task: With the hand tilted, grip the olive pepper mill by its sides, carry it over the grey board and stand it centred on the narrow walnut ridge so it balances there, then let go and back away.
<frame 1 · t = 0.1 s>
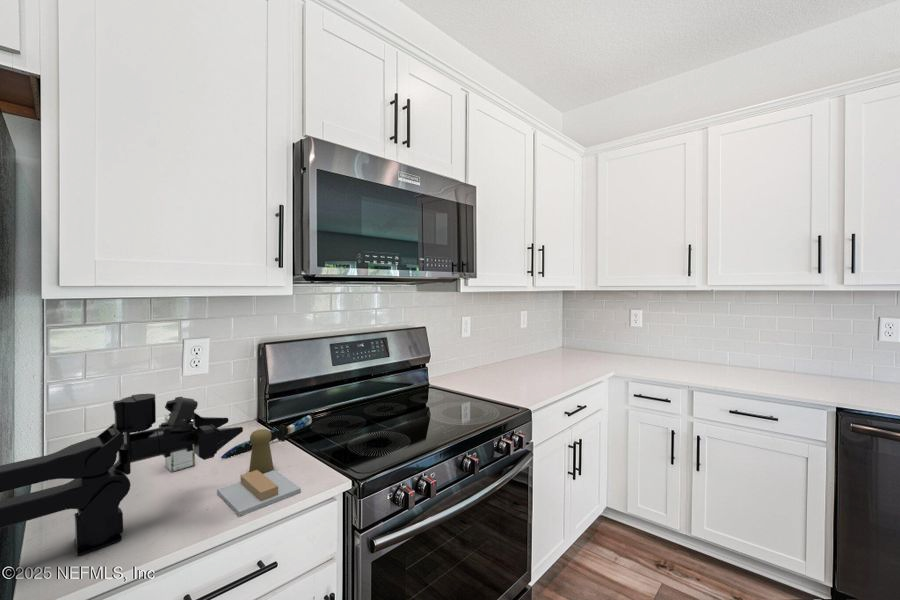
hand: (235, 424, 97), 17 cm above the worktop, tool horizontal, fingers open, 9 cm apart
knife: (271, 443, 128), on the worktop
olive pepper mill: (261, 471, 109), on the worktop
ridge board: (259, 492, 98), on the worktop
syrup box: (180, 466, 112), on the worktop
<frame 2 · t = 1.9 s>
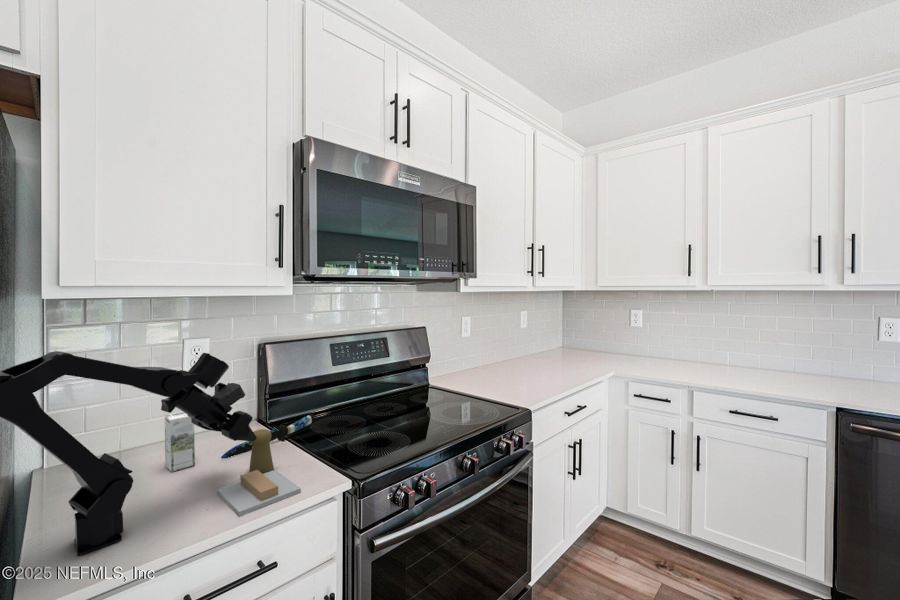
hand: (245, 435, 105), 11 cm above the worktop, tool tilted 45°, fingers open, 9 cm apart
nothing on the worktop moved.
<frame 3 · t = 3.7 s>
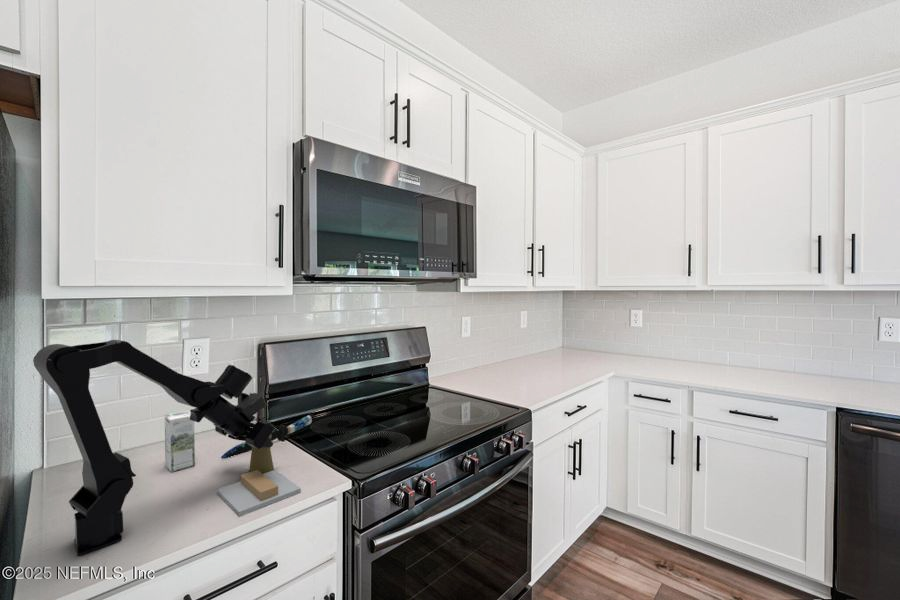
hand: (265, 443, 110), 7 cm above the worktop, tool tilted 45°, fingers closed on olive pepper mill, 5 cm apart
olive pepper mill: (261, 471, 109), on the worktop, touching gripper
everything else where it was.
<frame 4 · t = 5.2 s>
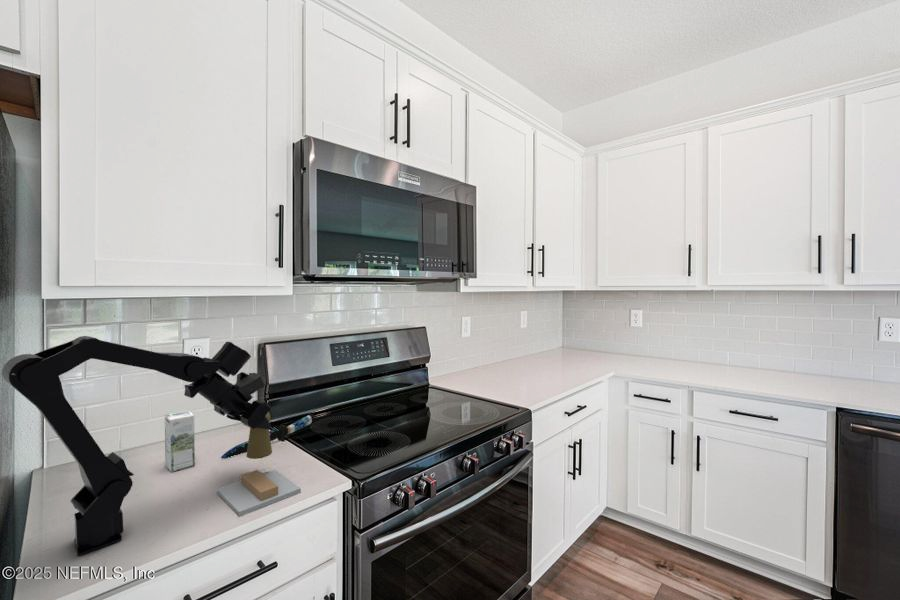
hand: (264, 425, 106), 13 cm above the worktop, tool tilted 45°, fingers closed on olive pepper mill, 5 cm apart
olive pepper mill: (259, 454, 106), point 6 cm above the worktop, touching gripper
everything else where it was.
when the fingers open (10 cm above the worktop, at t = 6.9 s): olive pepper mill stays where it is, resting on ridge board.
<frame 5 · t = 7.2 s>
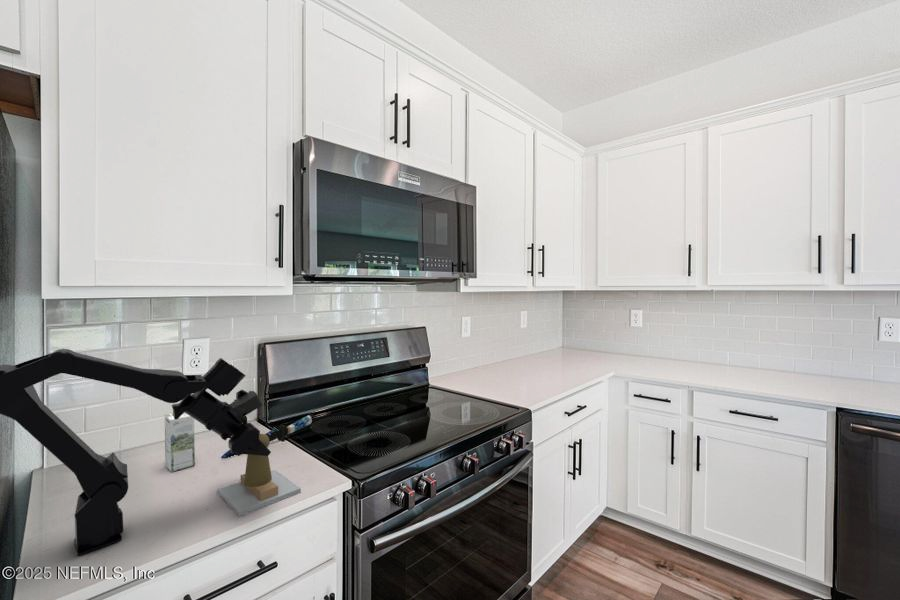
hand: (264, 448, 98), 11 cm above the worktop, tool tilted 45°, fingers open, 8 cm apart
olive pepper mill: (258, 481, 98), point 3 cm above the worktop, touching ridge board
everything else where it was.
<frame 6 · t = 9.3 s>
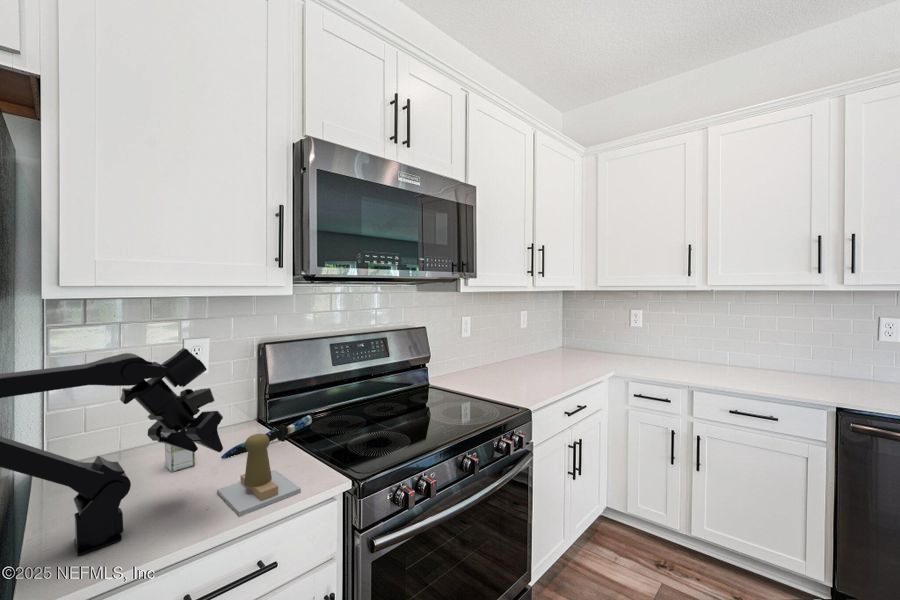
hand: (208, 450, 94), 12 cm above the worktop, tool tilted 35°, fingers open, 9 cm apart
nothing on the worktop moved.
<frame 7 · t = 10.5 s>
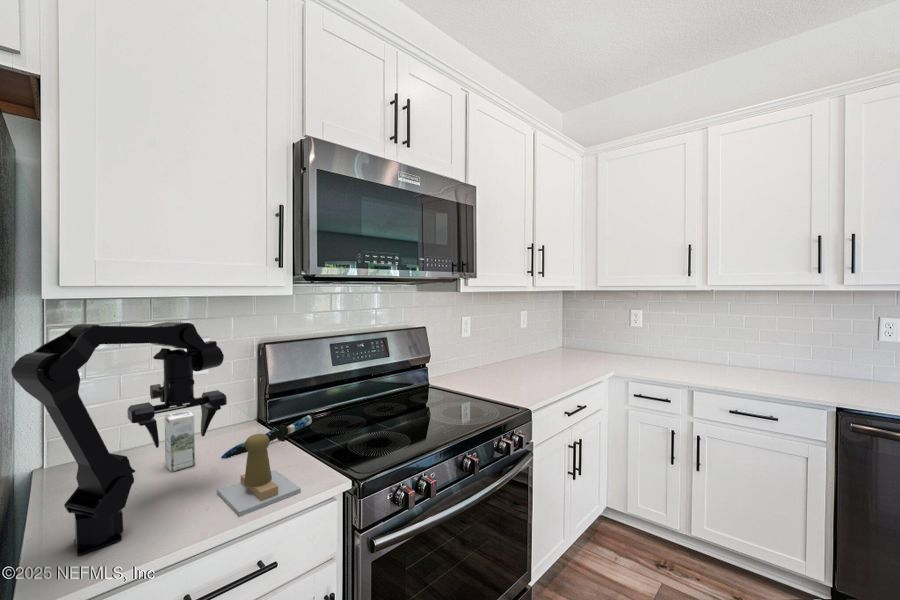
hand: (180, 441, 96), 13 cm above the worktop, tool pointing down, fingers open, 9 cm apart
nothing on the worktop moved.
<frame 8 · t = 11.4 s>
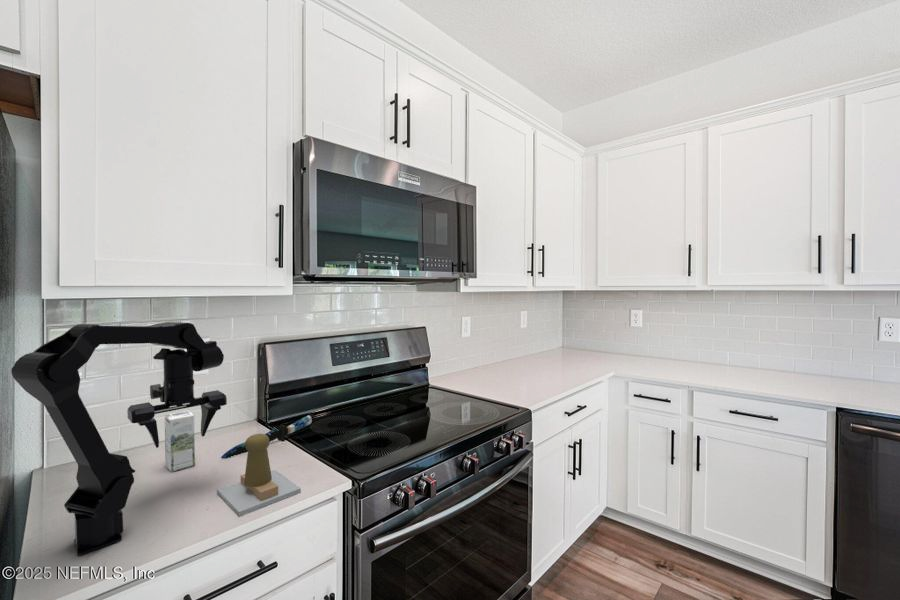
hand: (180, 441, 96), 13 cm above the worktop, tool pointing down, fingers open, 9 cm apart
nothing on the worktop moved.
at the end: olive pepper mill inside the target area on the ridge board (0.2 cm from its centre), point 2.8 cm above the ridge board's base; olive pepper mill tilted 0°; olive pepper mill touching ridge board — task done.
